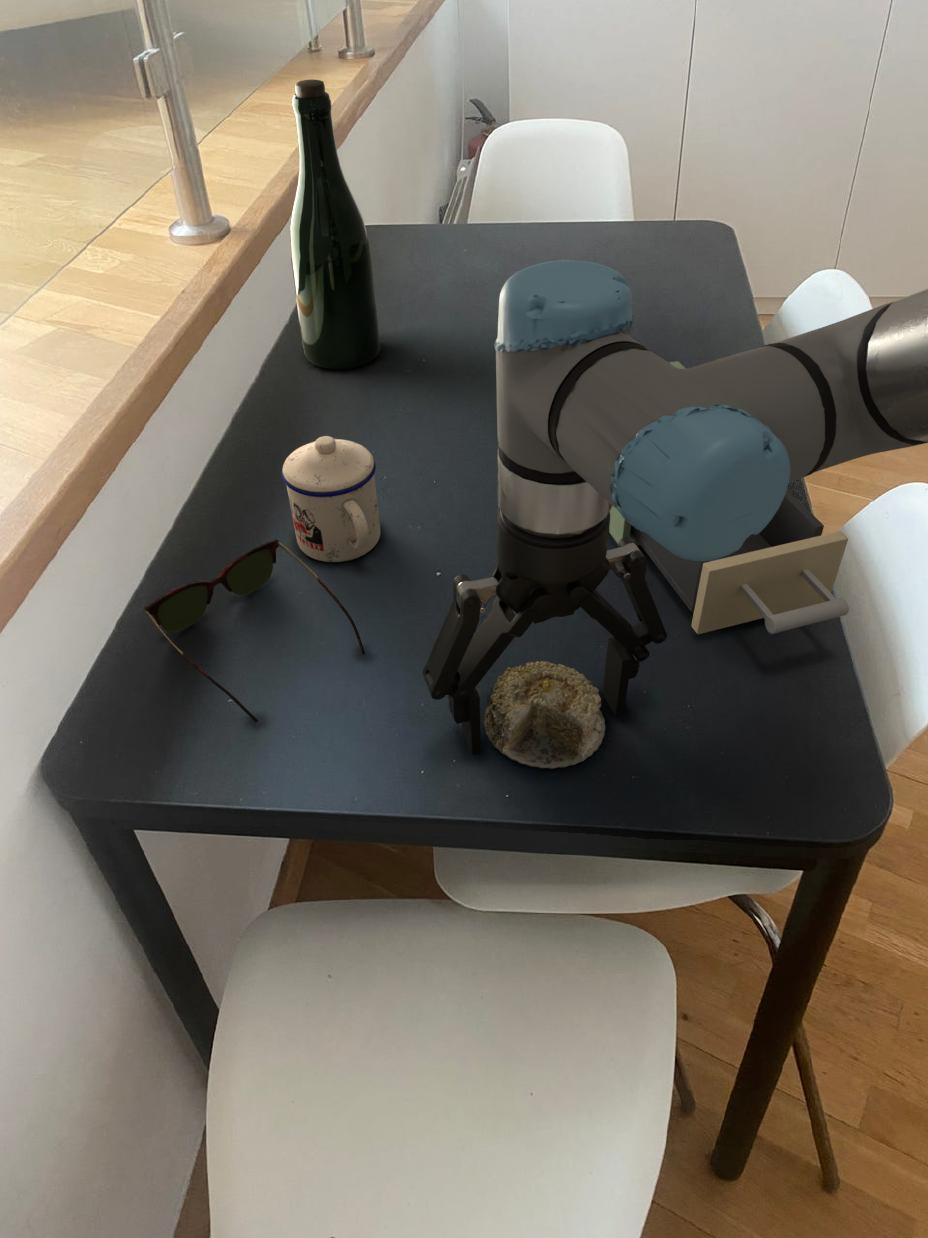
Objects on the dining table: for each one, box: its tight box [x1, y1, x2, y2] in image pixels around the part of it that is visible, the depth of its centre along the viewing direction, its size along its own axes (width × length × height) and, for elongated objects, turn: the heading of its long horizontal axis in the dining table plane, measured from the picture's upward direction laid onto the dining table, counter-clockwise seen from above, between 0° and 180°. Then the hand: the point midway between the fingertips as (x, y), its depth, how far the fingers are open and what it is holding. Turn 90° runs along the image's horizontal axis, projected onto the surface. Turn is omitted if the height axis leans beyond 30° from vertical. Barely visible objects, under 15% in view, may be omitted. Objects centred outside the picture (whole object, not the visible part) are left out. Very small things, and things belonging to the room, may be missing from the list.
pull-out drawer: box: [630, 489, 849, 635], centre depth 85 cm, size 23×13×7 cm, turn 18°
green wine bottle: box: [289, 79, 381, 370], centre depth 115 cm, size 10×10×33 cm
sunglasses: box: [143, 538, 366, 723], centre depth 82 cm, size 14×15×5 cm
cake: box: [482, 660, 606, 769], centre depth 74 cm, size 10×10×5 cm
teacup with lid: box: [281, 435, 381, 563], centre depth 90 cm, size 12×9×12 cm
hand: (543, 722), depth 76 cm, fingers open, 12 cm apart
